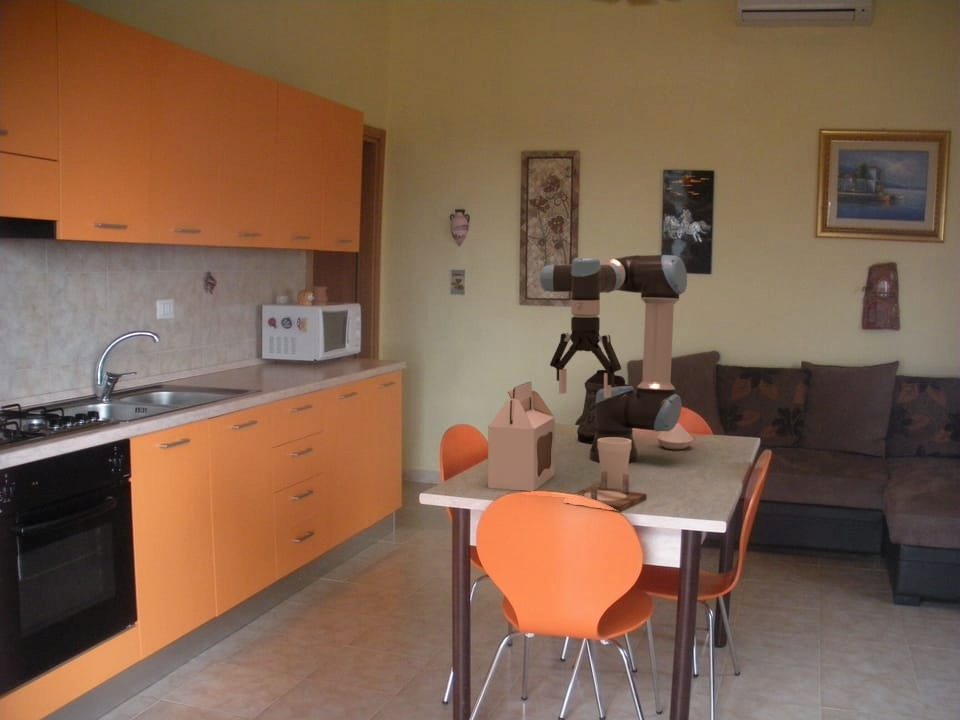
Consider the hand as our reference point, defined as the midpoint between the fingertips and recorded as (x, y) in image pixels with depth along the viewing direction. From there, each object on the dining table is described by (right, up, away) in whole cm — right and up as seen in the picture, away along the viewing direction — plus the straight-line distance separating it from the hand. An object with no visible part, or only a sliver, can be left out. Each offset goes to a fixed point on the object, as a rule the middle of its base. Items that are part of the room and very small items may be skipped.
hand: (584, 395), depth 253 cm
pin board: (+5, -27, -6) cm, 29 cm away
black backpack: (+16, -19, +80) cm, 84 cm away
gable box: (-16, -26, +16) cm, 34 cm away
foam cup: (+9, -26, +11) cm, 30 cm away
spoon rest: (+39, -20, +73) cm, 85 cm away
